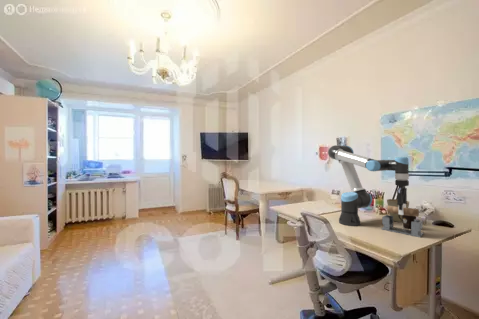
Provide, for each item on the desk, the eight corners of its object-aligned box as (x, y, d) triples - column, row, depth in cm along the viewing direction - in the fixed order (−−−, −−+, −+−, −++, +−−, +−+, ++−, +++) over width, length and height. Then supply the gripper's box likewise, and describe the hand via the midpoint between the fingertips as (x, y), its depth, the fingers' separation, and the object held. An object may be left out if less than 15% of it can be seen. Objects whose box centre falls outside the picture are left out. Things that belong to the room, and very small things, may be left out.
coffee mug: (419, 230, 162) (419, 215, 162) (405, 229, 164) (405, 215, 164) (410, 225, 174) (410, 211, 173) (397, 224, 175) (397, 211, 175)
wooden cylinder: (387, 213, 163) (387, 206, 163) (389, 211, 166) (389, 204, 166) (417, 217, 150) (416, 210, 150) (419, 215, 154) (418, 208, 153)
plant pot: (403, 224, 176) (403, 203, 176) (382, 219, 189) (382, 200, 189) (413, 221, 183) (413, 201, 183) (393, 217, 196) (393, 198, 196)
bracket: (381, 229, 164) (381, 216, 164) (385, 227, 170) (385, 214, 170) (420, 237, 148) (420, 223, 148) (423, 234, 153) (423, 220, 153)
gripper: (404, 181, 150) (405, 217, 150) (412, 179, 161) (412, 212, 162) (391, 180, 155) (391, 215, 155) (399, 178, 167) (399, 210, 167)
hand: (402, 213), depth 158 cm, fingers closed on wooden cylinder, 5 cm apart
